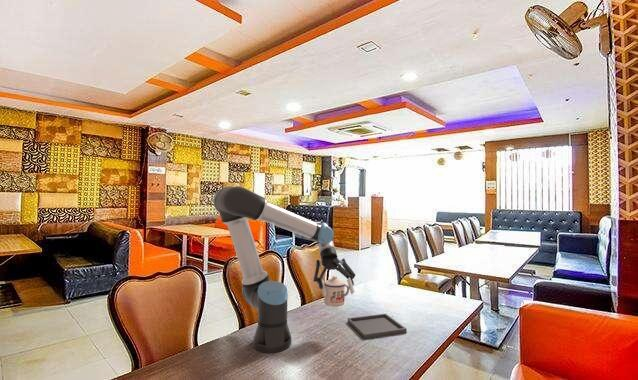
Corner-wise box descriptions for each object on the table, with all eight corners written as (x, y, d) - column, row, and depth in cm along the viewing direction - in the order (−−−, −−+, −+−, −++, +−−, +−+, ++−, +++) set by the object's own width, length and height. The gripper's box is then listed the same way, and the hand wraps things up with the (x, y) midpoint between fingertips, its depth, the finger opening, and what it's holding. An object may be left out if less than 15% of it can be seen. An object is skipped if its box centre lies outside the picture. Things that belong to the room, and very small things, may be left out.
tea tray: (364, 339, 131) (364, 334, 131) (347, 322, 148) (347, 318, 148) (406, 332, 137) (406, 328, 137) (385, 317, 154) (385, 313, 154)
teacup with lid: (330, 308, 129) (331, 280, 130) (319, 301, 137) (320, 275, 138) (354, 304, 135) (355, 276, 135) (343, 297, 143) (343, 272, 143)
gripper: (349, 254, 155) (362, 295, 140) (301, 257, 148) (310, 300, 133) (353, 245, 150) (367, 287, 135) (304, 248, 143) (313, 292, 128)
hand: (339, 294), depth 134 cm, fingers closed on teacup with lid, 12 cm apart
